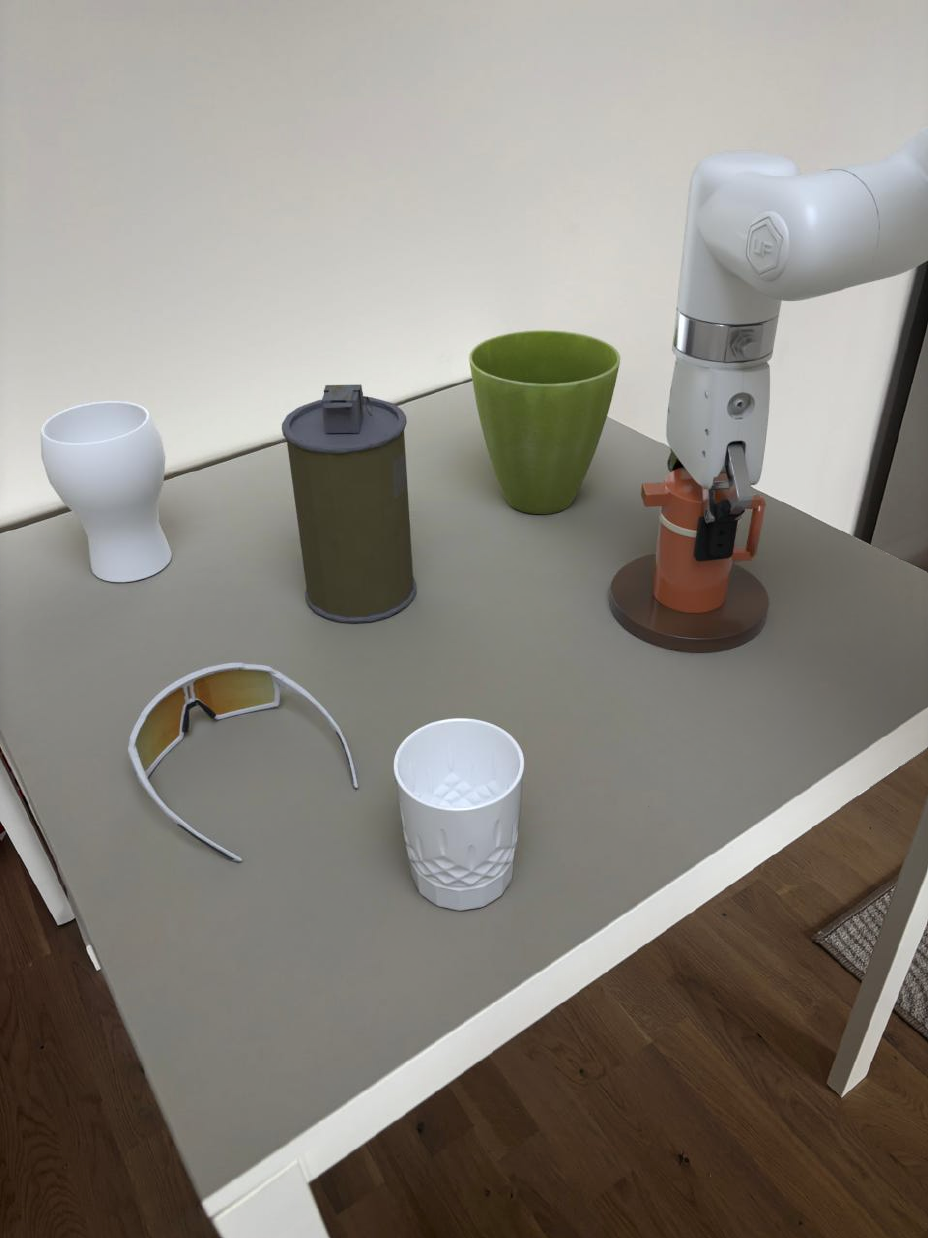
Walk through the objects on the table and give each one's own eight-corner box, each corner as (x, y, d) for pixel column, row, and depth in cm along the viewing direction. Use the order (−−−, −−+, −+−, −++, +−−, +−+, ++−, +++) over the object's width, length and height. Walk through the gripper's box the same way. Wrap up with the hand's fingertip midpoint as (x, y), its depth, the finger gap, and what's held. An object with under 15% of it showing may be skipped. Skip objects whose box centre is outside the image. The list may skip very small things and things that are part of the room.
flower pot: (533, 454, 114) (536, 319, 105) (637, 495, 105) (650, 352, 96) (443, 500, 105) (438, 357, 96) (548, 548, 97) (553, 397, 87)
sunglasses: (266, 679, 81) (262, 636, 77) (380, 792, 73) (381, 749, 70) (107, 763, 73) (96, 718, 70) (215, 899, 65) (208, 856, 62)
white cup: (386, 847, 66) (375, 739, 60) (491, 811, 69) (491, 704, 63) (429, 937, 60) (421, 826, 54) (542, 894, 63) (546, 784, 57)
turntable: (800, 623, 86) (803, 609, 85) (672, 671, 81) (674, 657, 80) (699, 550, 96) (700, 537, 95) (580, 589, 91) (580, 576, 90)
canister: (413, 623, 87) (400, 415, 75) (297, 624, 87) (266, 417, 76) (419, 558, 96) (408, 363, 84) (314, 560, 96) (289, 365, 84)
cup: (193, 578, 94) (161, 435, 85) (78, 601, 91) (33, 455, 82) (180, 526, 102) (150, 391, 93) (74, 546, 99) (33, 408, 90)
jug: (740, 569, 90) (758, 463, 84) (759, 612, 85) (781, 501, 78) (627, 573, 90) (637, 466, 84) (640, 615, 85) (651, 505, 78)
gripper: (823, 371, 67) (779, 585, 77) (728, 294, 81) (702, 484, 91) (719, 380, 66) (689, 595, 77) (641, 300, 80) (624, 491, 91)
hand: (696, 533), depth 84 cm, fingers closed on jug, 6 cm apart
